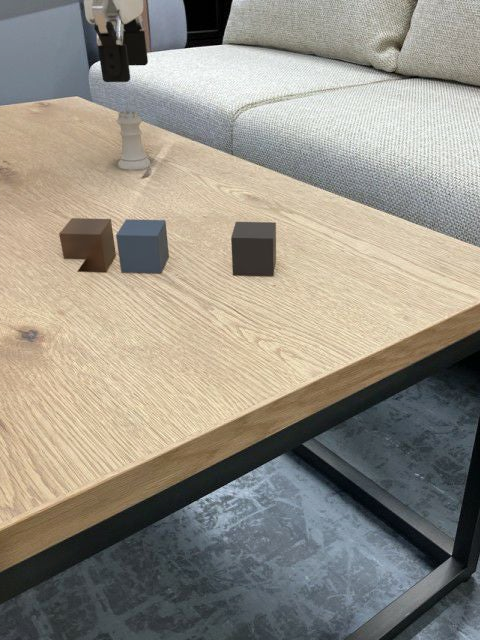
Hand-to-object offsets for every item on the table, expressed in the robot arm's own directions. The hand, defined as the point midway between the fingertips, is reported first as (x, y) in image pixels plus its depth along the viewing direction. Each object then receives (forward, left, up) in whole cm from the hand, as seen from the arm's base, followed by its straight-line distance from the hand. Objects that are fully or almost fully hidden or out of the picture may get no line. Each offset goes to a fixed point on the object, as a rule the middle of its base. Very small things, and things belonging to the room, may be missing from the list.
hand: (126, 72), depth 87 cm
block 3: (+18, -28, -13) cm, 36 cm away
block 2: (+7, -28, -13) cm, 32 cm away
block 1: (+2, -28, -13) cm, 31 cm away
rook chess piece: (0, 0, -13) cm, 13 cm away
